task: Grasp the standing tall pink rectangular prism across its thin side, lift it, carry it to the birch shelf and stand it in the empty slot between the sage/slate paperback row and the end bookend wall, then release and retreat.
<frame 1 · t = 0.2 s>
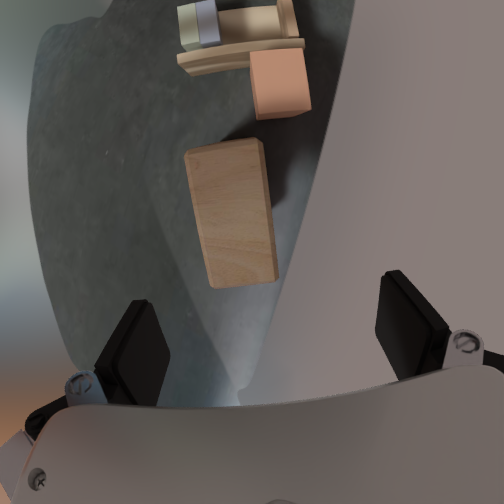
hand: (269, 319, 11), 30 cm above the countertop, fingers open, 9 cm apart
tall pink rectangular prism: (272, 95, 34), on the countertop
decorative block: (242, 178, 39), on the countertop
shelf: (236, 34, 30), on the countertop
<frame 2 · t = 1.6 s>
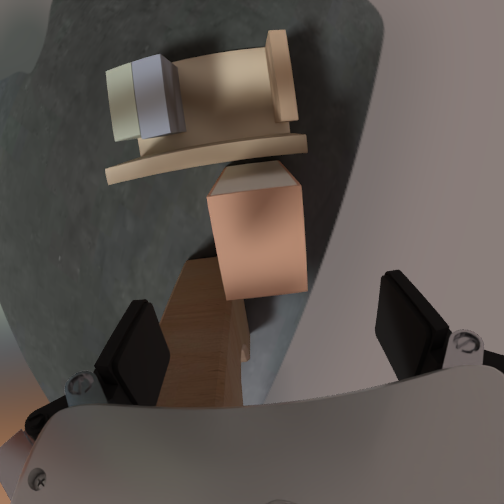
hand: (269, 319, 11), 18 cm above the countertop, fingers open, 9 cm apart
tall pink rectangular prism: (256, 196, 27), on the countertop
decorative block: (219, 299, 32), on the countertop
shelf: (204, 99, 23), on the countertop
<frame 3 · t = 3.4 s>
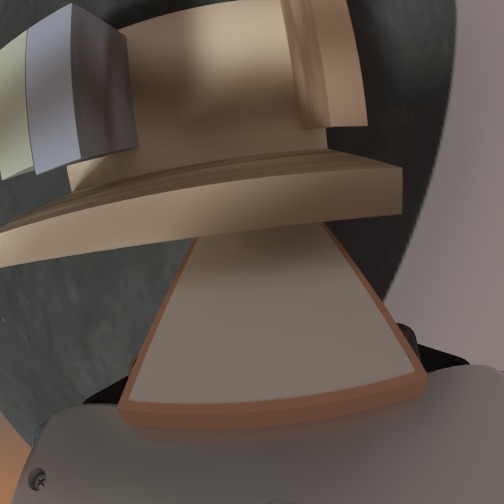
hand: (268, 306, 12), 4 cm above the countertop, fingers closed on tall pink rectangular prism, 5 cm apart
tall pink rectangular prism: (264, 261, 16), on the countertop, touching gripper
shelf: (170, 86, 12), on the countertop
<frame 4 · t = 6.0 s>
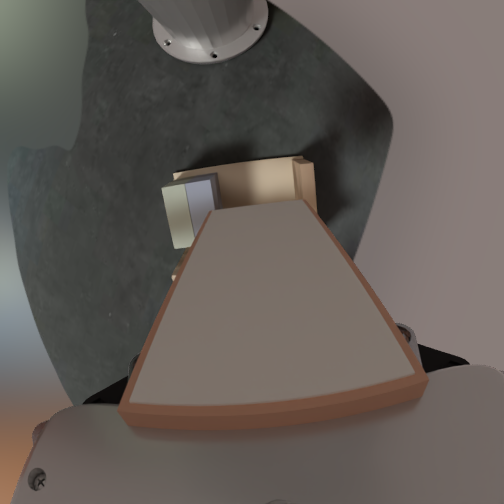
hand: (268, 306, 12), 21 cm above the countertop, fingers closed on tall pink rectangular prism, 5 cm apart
tall pink rectangular prism: (264, 261, 16), point 17 cm above the countertop, touching gripper
shelf: (240, 201, 31), on the countertop
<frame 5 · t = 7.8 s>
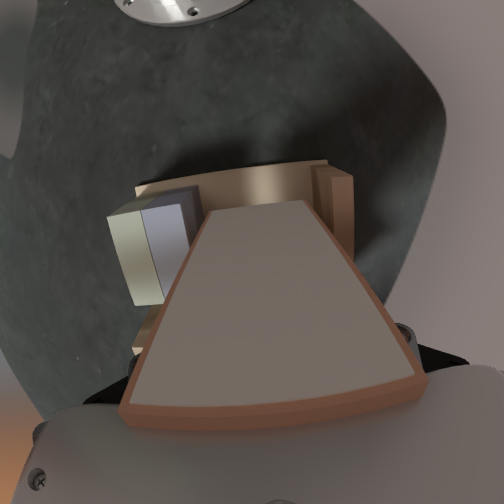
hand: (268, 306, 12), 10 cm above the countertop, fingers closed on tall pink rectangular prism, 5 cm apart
tall pink rectangular prism: (264, 262, 16), point 6 cm above the countertop, touching gripper
shelf: (233, 226, 21), on the countertop
when the fingers open (7 cm above the countertop, at t = 9.0 s): tall pink rectangular prism drops 2 cm, resting on shelf.
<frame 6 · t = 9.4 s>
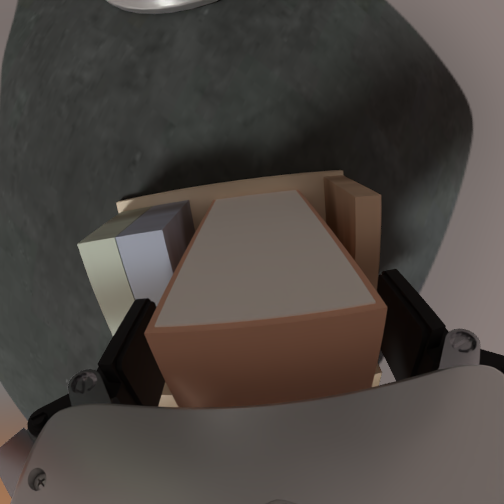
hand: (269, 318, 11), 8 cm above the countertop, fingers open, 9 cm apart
tall pink rectangular prism: (262, 246, 18), resting on shelf
shelf: (231, 248, 18), on the countertop
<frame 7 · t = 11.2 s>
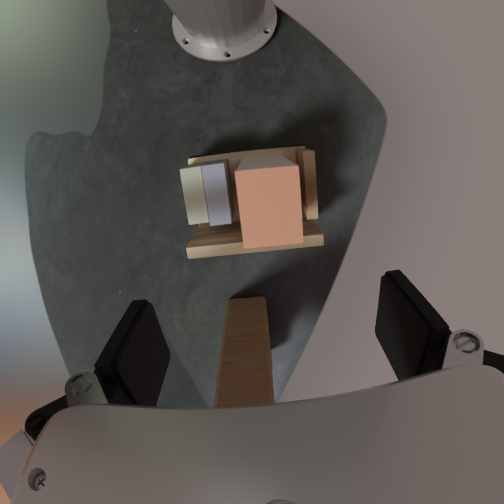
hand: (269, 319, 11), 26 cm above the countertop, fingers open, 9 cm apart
tall pink rectangular prism: (264, 183, 34), resting on shelf
decorative block: (250, 325, 43), on the countertop
shelf: (247, 185, 34), on the countertop
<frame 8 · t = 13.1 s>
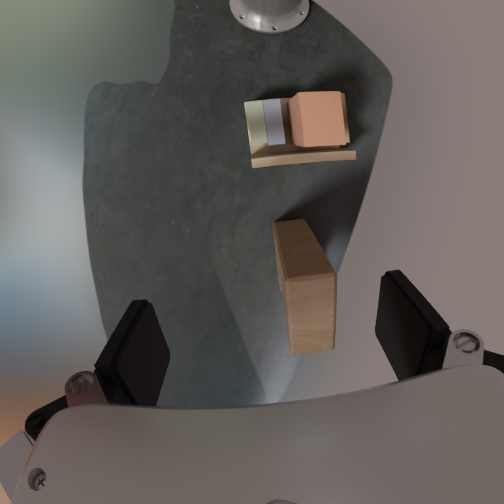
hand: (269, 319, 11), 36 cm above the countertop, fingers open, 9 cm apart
tall pink rectangular prism: (304, 122, 40), resting on shelf
decorative block: (291, 249, 49), on the countertop
shelf: (291, 124, 41), on the countertop
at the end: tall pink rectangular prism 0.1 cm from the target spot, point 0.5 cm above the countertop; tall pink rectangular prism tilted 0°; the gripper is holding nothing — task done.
